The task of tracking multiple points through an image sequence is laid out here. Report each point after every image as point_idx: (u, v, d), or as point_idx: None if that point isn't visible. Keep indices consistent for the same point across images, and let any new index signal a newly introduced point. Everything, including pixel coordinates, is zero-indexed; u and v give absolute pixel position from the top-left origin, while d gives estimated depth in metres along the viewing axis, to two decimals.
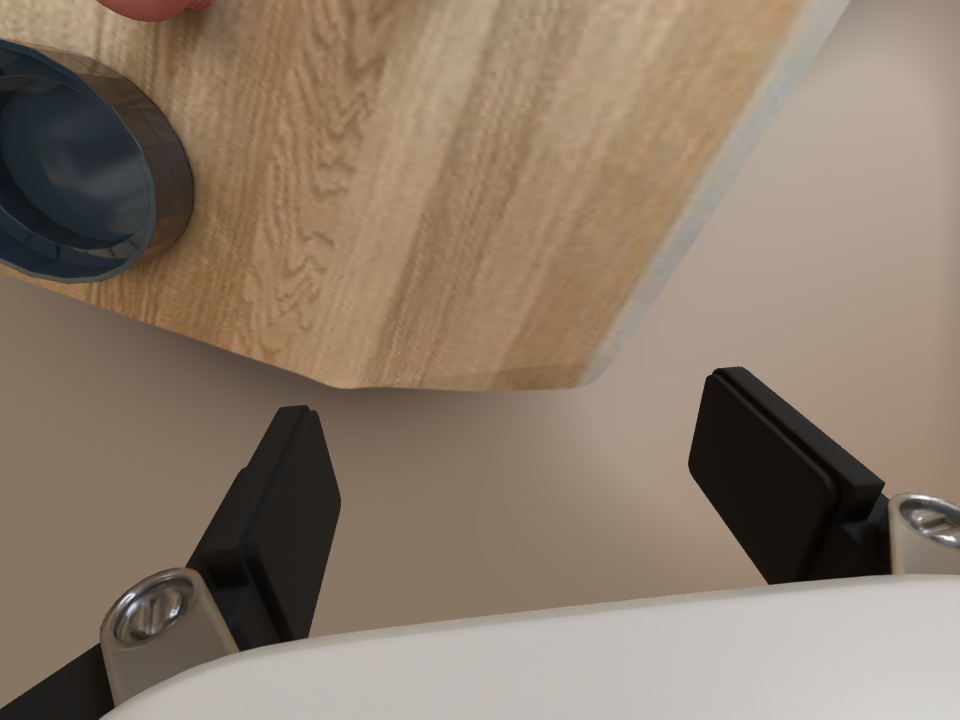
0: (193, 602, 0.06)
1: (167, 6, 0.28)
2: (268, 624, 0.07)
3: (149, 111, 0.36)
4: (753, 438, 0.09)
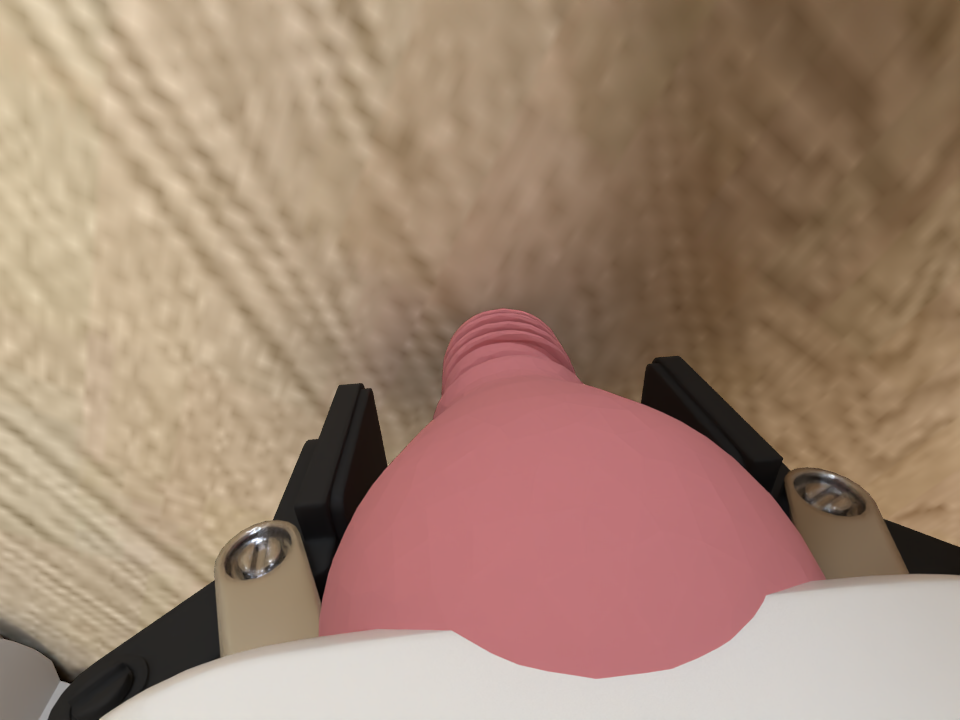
0: (292, 548, 0.07)
1: None
2: None
3: None
4: None
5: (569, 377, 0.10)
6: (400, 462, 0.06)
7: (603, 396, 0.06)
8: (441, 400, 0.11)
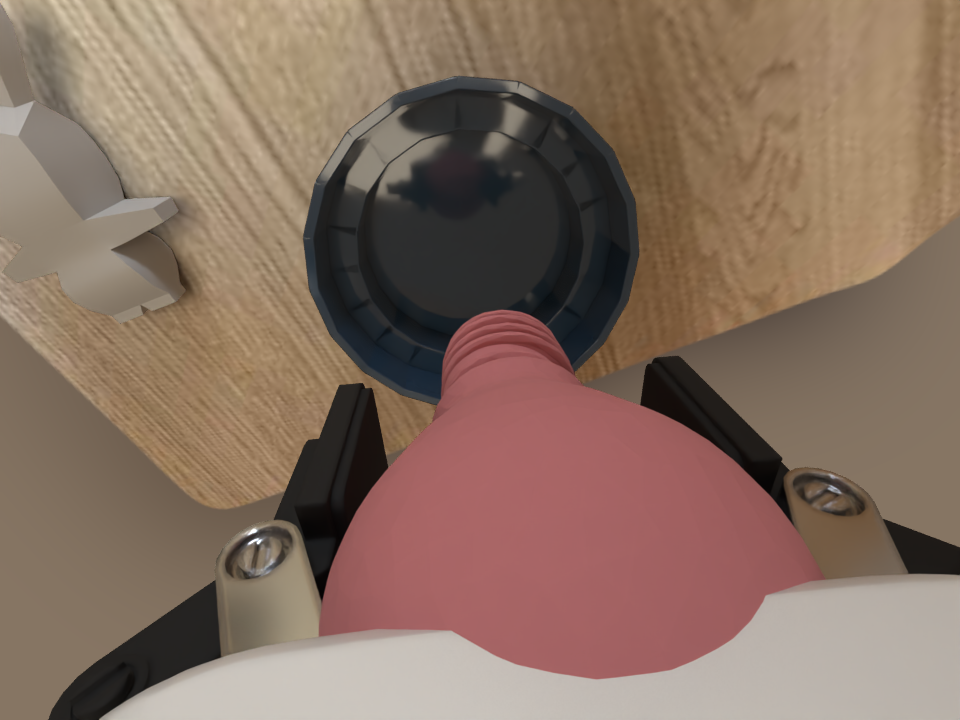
0: (293, 548, 0.07)
1: None
2: None
3: None
4: (680, 421, 0.10)
5: (569, 379, 0.10)
6: (400, 465, 0.06)
7: (603, 399, 0.06)
8: (441, 402, 0.10)
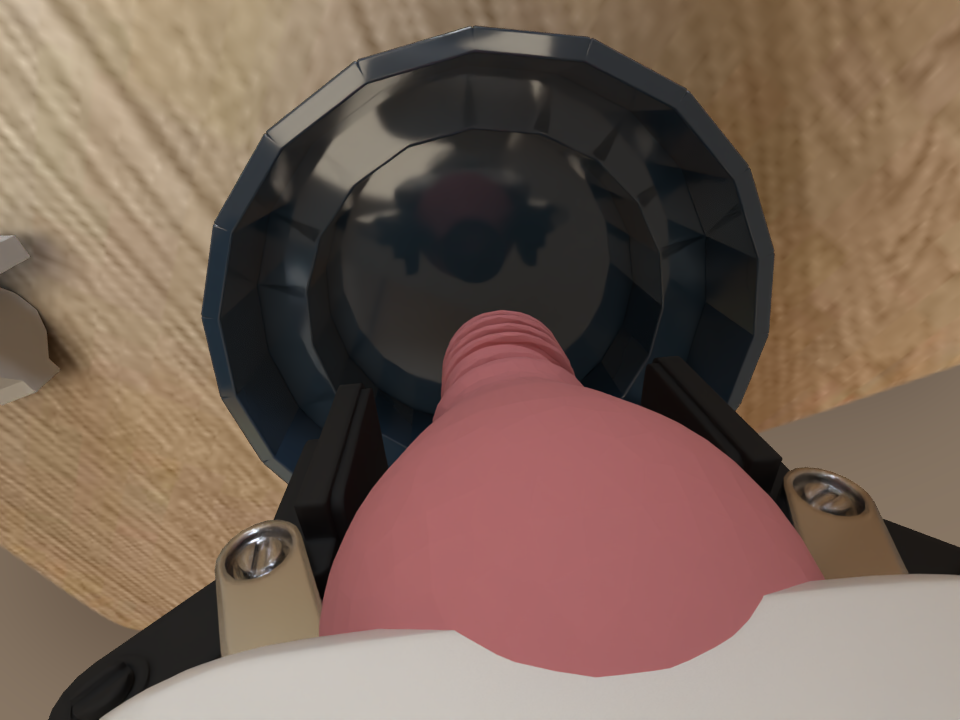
0: (293, 548, 0.07)
1: None
2: None
3: None
4: (680, 421, 0.10)
5: (569, 379, 0.10)
6: (400, 466, 0.06)
7: (603, 399, 0.06)
8: (441, 402, 0.10)
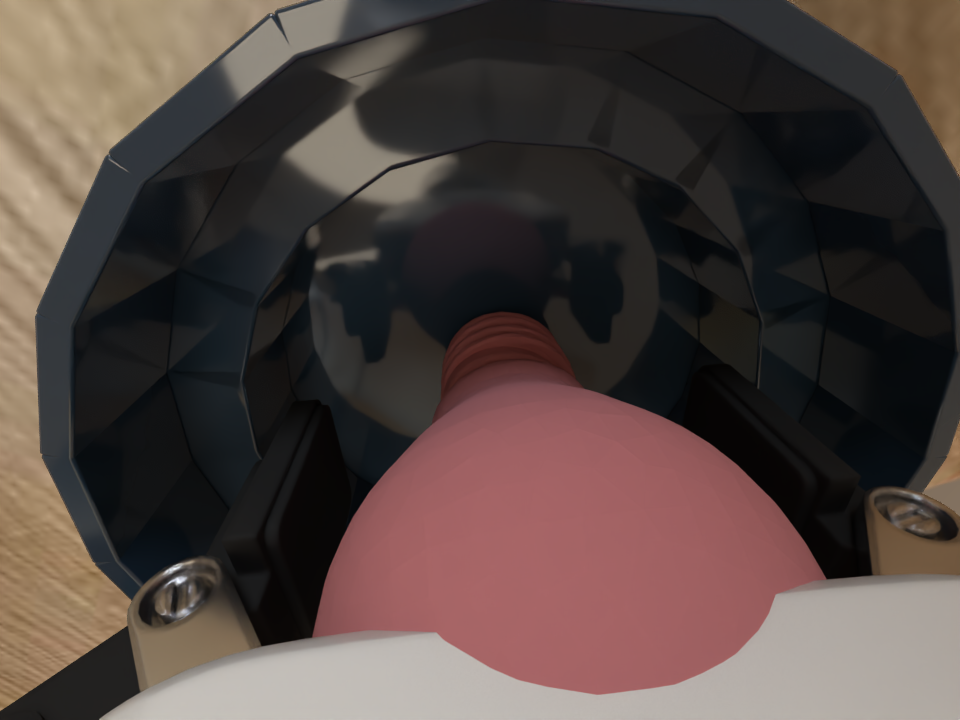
0: (216, 588, 0.06)
1: None
2: (286, 612, 0.08)
3: None
4: (736, 433, 0.09)
5: (569, 381, 0.10)
6: (398, 469, 0.06)
7: (604, 401, 0.06)
8: (440, 404, 0.10)
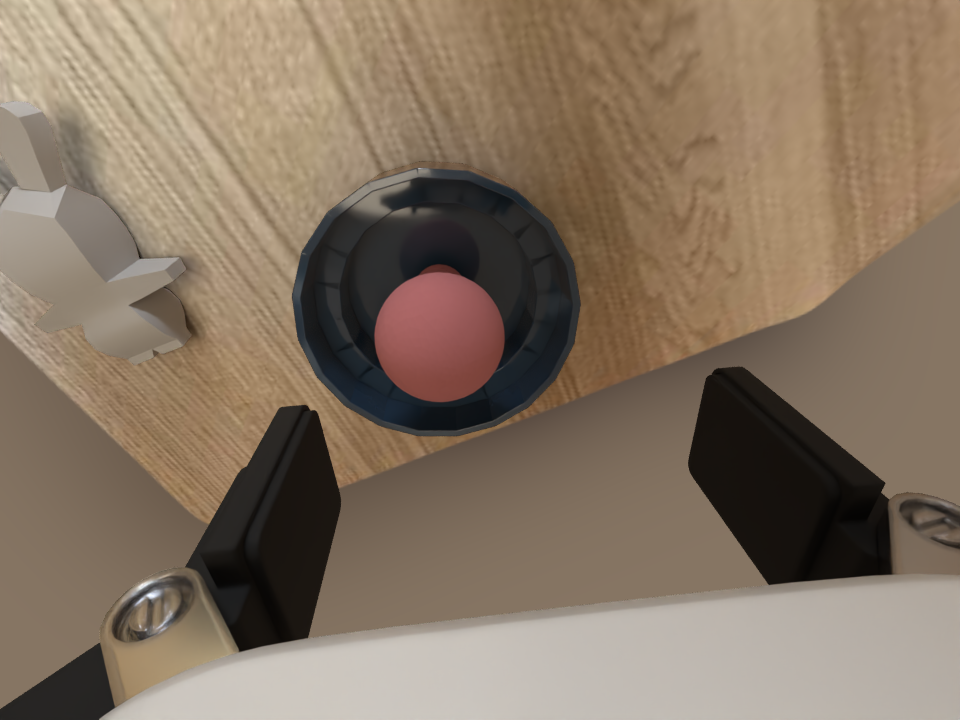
0: (193, 602, 0.06)
1: None
2: (268, 624, 0.07)
3: (467, 166, 0.27)
4: (753, 438, 0.09)
5: None
6: (395, 289, 0.24)
7: None
8: None
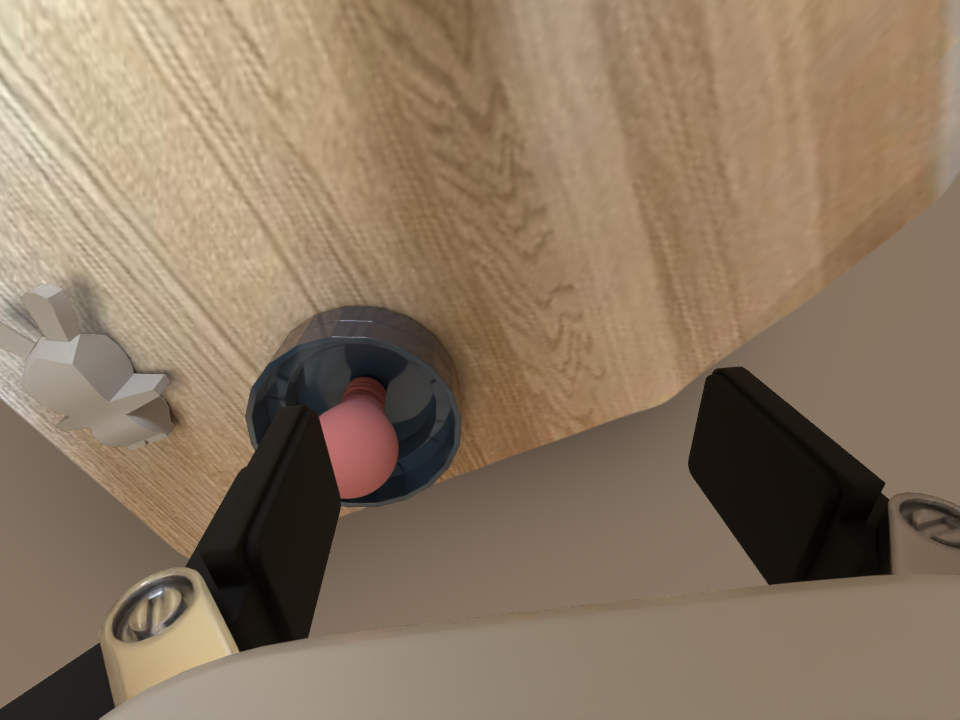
0: (193, 602, 0.06)
1: (396, 460, 0.35)
2: (268, 624, 0.07)
3: (377, 315, 0.37)
4: (753, 438, 0.09)
5: (372, 399, 0.38)
6: None
7: (356, 405, 0.34)
8: None
